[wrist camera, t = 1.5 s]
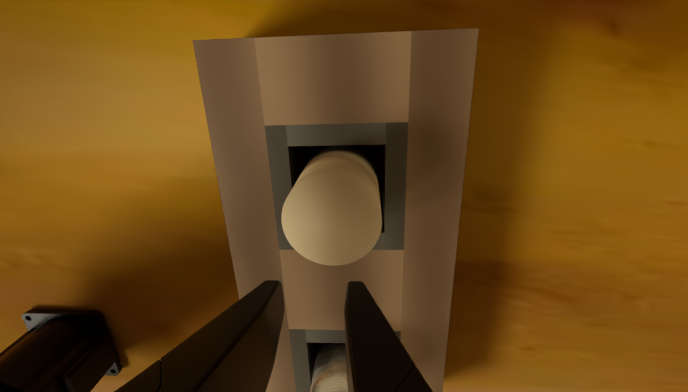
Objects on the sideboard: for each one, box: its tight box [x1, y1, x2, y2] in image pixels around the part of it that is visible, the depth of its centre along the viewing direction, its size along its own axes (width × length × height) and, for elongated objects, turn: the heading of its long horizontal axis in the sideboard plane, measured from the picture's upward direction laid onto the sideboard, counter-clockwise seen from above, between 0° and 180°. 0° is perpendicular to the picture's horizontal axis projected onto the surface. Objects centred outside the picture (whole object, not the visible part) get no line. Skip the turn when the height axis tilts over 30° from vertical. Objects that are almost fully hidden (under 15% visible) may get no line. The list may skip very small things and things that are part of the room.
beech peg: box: [281, 145, 382, 266], centre depth 16 cm, size 4×4×5 cm
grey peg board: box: [193, 28, 479, 392], centre depth 21 cm, size 12×26×5 cm, turn 2°
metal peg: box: [310, 343, 348, 392], centre depth 20 cm, size 4×4×5 cm
